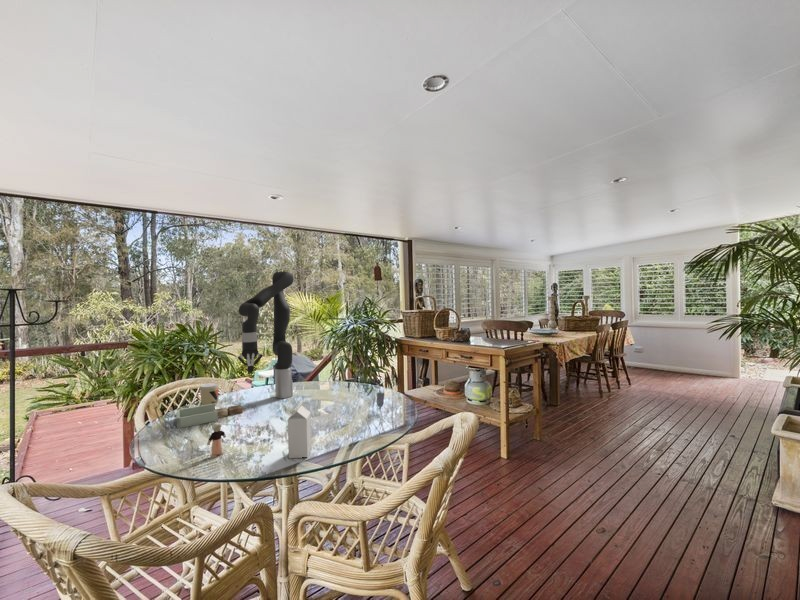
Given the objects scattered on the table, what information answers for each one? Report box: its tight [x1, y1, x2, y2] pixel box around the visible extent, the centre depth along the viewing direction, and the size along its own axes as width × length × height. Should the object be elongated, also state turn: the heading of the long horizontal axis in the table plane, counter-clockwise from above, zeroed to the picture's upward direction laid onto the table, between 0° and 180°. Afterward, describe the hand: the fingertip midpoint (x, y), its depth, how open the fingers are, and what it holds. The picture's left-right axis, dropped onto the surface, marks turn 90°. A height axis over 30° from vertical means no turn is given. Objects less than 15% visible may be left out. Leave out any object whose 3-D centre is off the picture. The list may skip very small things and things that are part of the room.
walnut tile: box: [227, 404, 244, 416], centre depth 186 cm, size 6×6×3 cm
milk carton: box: [287, 402, 312, 459], centre depth 136 cm, size 7×7×19 cm
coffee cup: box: [199, 382, 220, 407], centre depth 197 cm, size 9×9×12 cm
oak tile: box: [213, 407, 229, 419], centre depth 182 cm, size 6×6×3 cm
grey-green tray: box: [176, 403, 219, 429], centre depth 176 cm, size 17×15×4 cm
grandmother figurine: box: [206, 421, 227, 459], centre depth 137 cm, size 8×4×13 cm, turn 164°
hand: (250, 372), depth 189 cm, fingers closed
